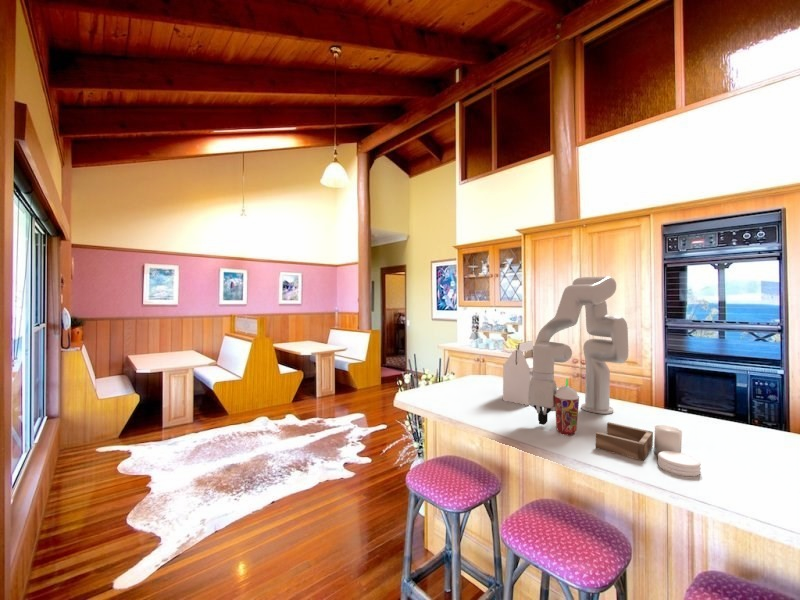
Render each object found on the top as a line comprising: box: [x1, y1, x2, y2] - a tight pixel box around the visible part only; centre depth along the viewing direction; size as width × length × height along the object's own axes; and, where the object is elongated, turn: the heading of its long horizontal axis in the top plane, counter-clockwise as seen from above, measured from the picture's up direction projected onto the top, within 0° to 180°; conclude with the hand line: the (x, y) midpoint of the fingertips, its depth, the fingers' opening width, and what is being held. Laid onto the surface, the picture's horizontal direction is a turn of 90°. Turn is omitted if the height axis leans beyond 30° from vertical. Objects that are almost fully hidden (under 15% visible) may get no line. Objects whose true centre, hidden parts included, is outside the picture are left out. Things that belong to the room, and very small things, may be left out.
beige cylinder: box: [653, 424, 683, 455], centre depth 118 cm, size 7×7×8 cm
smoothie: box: [554, 378, 580, 436], centre depth 136 cm, size 8×8×20 cm
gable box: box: [502, 340, 534, 406], centre depth 181 cm, size 22×13×28 cm, turn 138°
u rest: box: [595, 421, 654, 462], centre depth 123 cm, size 15×14×5 cm
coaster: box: [657, 451, 701, 477], centre depth 108 cm, size 10×10×4 cm
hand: (542, 423), depth 142 cm, fingers closed
